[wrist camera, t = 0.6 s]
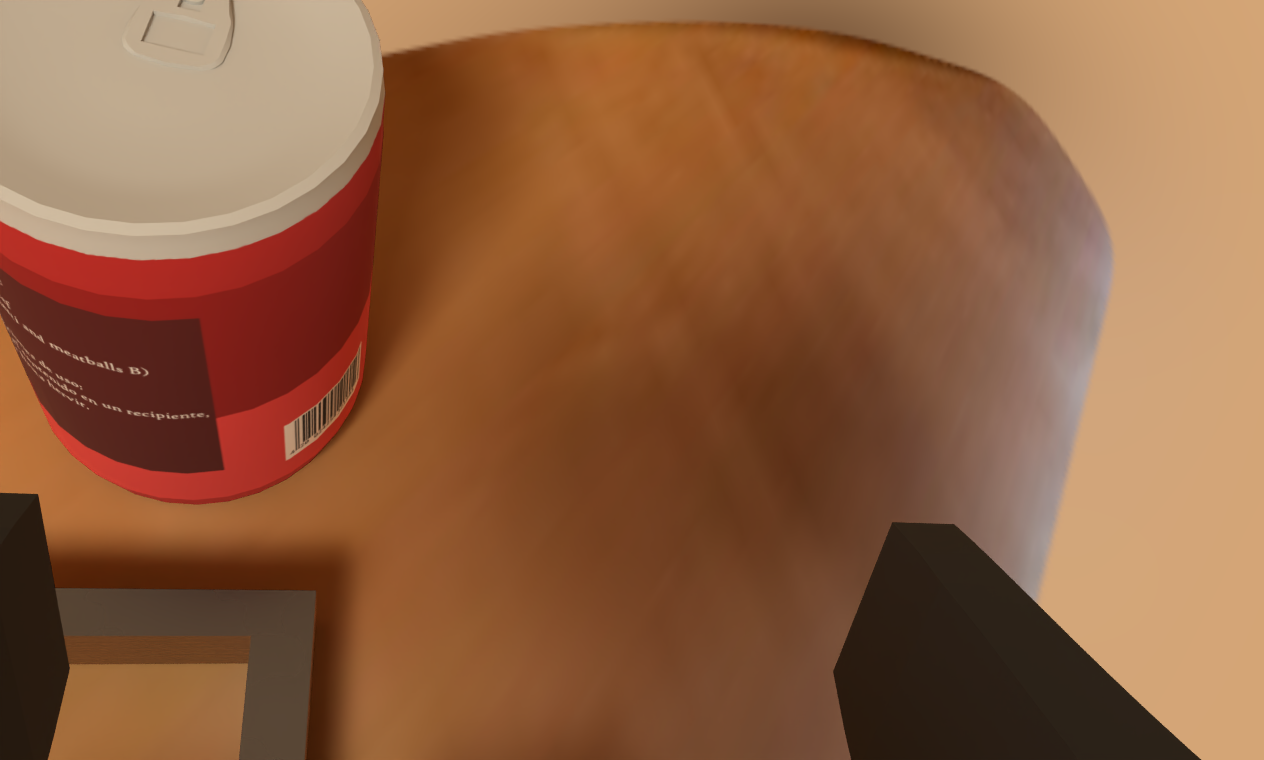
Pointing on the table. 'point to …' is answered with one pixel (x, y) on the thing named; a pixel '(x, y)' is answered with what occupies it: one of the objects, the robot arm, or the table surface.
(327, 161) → the canned food
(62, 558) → the table surface
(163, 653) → the grey open box
